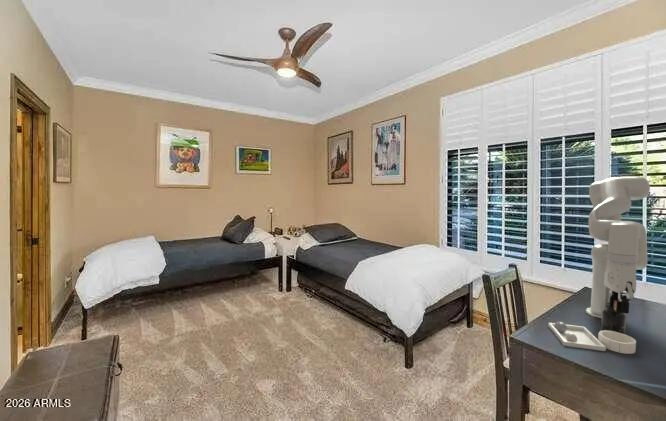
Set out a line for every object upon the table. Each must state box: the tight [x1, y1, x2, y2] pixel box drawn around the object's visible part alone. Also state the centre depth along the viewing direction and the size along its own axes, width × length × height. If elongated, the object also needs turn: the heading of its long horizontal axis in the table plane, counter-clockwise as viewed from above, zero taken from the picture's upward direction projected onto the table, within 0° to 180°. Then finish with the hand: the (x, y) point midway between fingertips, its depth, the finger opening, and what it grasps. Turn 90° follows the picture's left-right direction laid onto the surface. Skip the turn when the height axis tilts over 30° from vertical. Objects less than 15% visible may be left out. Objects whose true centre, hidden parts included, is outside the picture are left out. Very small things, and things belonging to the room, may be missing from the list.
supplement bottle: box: [600, 302, 627, 335], centre depth 117 cm, size 7×7×12 cm
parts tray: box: [548, 322, 607, 352], centre depth 114 cm, size 16×12×2 cm
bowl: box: [597, 330, 637, 355], centre depth 108 cm, size 10×10×4 cm
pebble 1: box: [554, 320, 567, 332], centre depth 119 cm, size 4×4×4 cm
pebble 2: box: [565, 333, 577, 342], centre depth 110 cm, size 3×3×3 cm
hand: (618, 309), depth 107 cm, fingers closed on pebble 3, 3 cm apart
